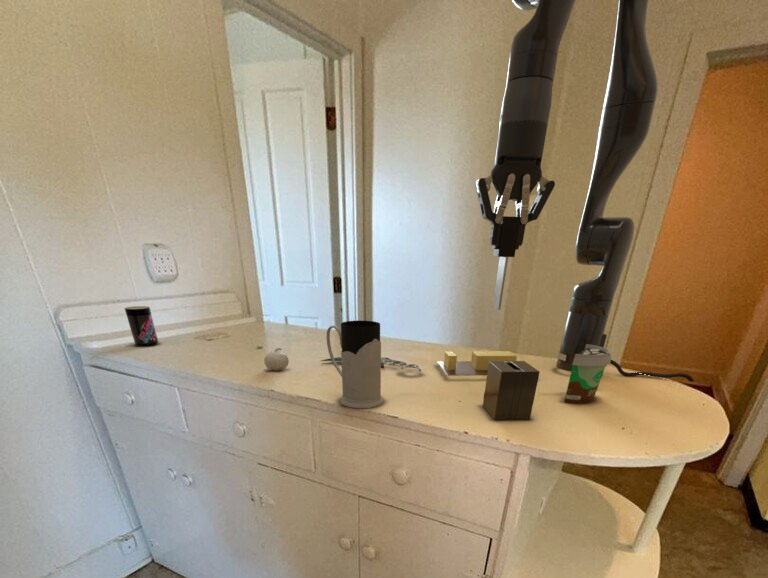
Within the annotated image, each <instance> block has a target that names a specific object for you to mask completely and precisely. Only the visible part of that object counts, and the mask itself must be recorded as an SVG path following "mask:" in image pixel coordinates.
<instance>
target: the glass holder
mask: <svg viewBox="0 0 768 578" xmlns="http://www.w3.org/2000/svg"><path fill="white" fill-rule="evenodd" d="M333 328H334V329H335V330H336V332H337V334H338V337H339V345H340V348H341V351H340V357H341V368H340V367H339V365H338V364H337V361H335V359H334V358H335V357H334V353H333V351H332V350H333V349H332V346H331V330H332V329H333ZM326 346H327V351H328V354H329V357H330V358H331V360H332V361H331V363H332V364H333V366H334V368H335V370H336V371H337V373H338V374H339V375H340V376H341V383H342V397H341V399H340V403H341V404H342V405H343V406H345V407H347V408H353V409H370V408H371V409H372V408H375V407H379V406H381V405H382V404H383V402H384V400H383V398H382V387H381V385H382V367H381V357H382V342H381V323H380V322H377V321H373V320H347V321H343V322H341V323H340V327H339V326H337V325H330V326H329V327H328V328H327V330H326ZM330 358H329V359H330Z"/></svg>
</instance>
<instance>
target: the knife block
mask: <svg viewBox="0 0 768 578" xmlns="http://www.w3.org/2000/svg"><path fill="white" fill-rule="evenodd" d="M540 373H541V372H540V370H538V369H537V368H535V367H533V365H531V364H530V363H528V362H526V361H525V360H516V361H489V366H488V373H487V375H486V381H485V388H484V395H483V401H482V407H483V408H484V410H485V411H486V412H487V414H488V415H489V416H490V417H491V418H492V420H493V421H514V420H515V421H522V420H523V421H524V420H525V421H527V420H528V421H529V420H531V416H532V412H533V406H534V402H535V397H536V391H537V387H538V382H539V378H540Z"/></svg>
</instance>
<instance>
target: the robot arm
mask: <svg viewBox="0 0 768 578" xmlns="http://www.w3.org/2000/svg"><path fill="white" fill-rule="evenodd" d="M511 1H512V3H513V4H514V6H516V8H518V9H520V10H521V11H529V12H530V11H532V10H533V11H534V10H535V12H534V14H533V16H532V17H531V19H530V20H529V21H528V22H527V23H525V24H524V25H523V26H522V27H521V28H520V29H519V30H518V31H517V32H516V33H515V35H514V36H513V38H512V42H511V46H510V53H509V60H508V68H507V76H506V82H505V83H506V85H505V90H504V93H503V94H504V95H503V99H502V103H501V110H500V114H499V126H498V135H497V143H496V144H497V145H496V151H495V158H494V165H493V168H492V170H491V171H490V174H489V175H487V176H485V177H480V178H478V179H476V180H475V182H474V187H475V191H476V192H475V193H476V195H477V199H478V204H479V209H480V213H481V216H482V219H483V220H486V221H488V222H490V225H491V226H490V227H491V228H490V236H489V245H490V246H491V249H492V250H495V249H498V248H499V243H500V236H501V229H502V224H501V221H502V218H503V216H504V215H505V211H506V209H507V207H508V204H509V201H512V202H515V211H516V217H521V218H520V225H519V231H518V237H517V244H516V250H515V251H517V250H519V248H520V247H521V246H522V245H523V244H524V237H525V232H526V231H525V230H526V226H527V224H528V223H530V222H532V221H536V220H538V218H539V217H540V214H541V212H542V211H543V209H544V207H545V205H546V204H547V202H548V200H549V198H550V196H551V194H552V192H553V190H554V188H555V186H556V182H555V180H549V179H548V178H546V177H544V176H543V171H542V160H543V155H544V149H545V144H546V136H547V132H548V126H549V125H548V124H549V119H550V114H551V108H552V102H553V101H552V100H553V86H554V79H555V74H556V68H557V61H558V55H559V50H560V44H561V42H562V38H563V36H564V33H565V30H566V28H567V25H568V23H569V19H570V17H571V14H572V11H573V7H574V5H575V3H576V0H511ZM648 5H649V0H618V6H617V15H616V25H615V31H614V32H615V33H614V41H613V47H612V54H611V60H610V67H609V73H608V78H607V84H606V89H605V94H604V99H603V104H602V110H601V116H600V120H599V125H598V131H597V132H598V133H597V140H596V146H595V152H594V160H593V165H592V170H591V175H590V176H591V177H590V181H589V184H588V185H589V186H588V190H587V194H586V199H585V203H584V207H583V210H582V211H583V212H582V215H581V219H580V224H579V227H578V231H577V237H576V241H575V250H574V253H575V254H574V255H575V261H576V263H577V264H579V265H580V266H581V265H582V266H594V267H595V266H597V267H602V268H601V270H600V272H599V274H598V275H596V276H595V277H593V278H591V279H588V280H586V281H583V282H579V283H577V284H575V285H574V287H573V290H572V293H571V298H570V304H569V308H568V312H567V317H566V320H565V325H564V329H563V334H562V339H561V342H560V346H559V347H560V348H559V352H558V356H557V360H556V367H555V368H558V369H560V370H563V371H568V372H571V371H572V366H573V365H572V364H573V361H574V357H575V354H580V352H581V351H584V350H585V347H586V344H588V345H595V346H600V347H604V348H605V343H606V340H607V338H608V337H607V336H608V335H607V334H606V333H605V331H606V327H607V323H608V319H609V316H610V313H611V309H612V305H613V301H614V298H615V295H616V291H617V289H618V286H619V284H620V281H621V277H622V274H623V270H624V267H625V264H626V261H627V258H628V255H629V252H630V249H631V246H632V243H633V238H634V233H635V223H634V220H633V219H632V218H631V217H628V216H615V217H614V216H613V217H612V216H611V217H610V216H609V217H604V212H605V208H606V206H607V202H608V200H609V197H610V194H611V193H612V190H613V189H614V187H615V185H616V183H617V182H618V180H619V179H620V177H621V176H622V174H623V173H624V172H625V170H626V169H627V168H628V166H629V165H630V164H631V162H632V161H633V160H634V158H635V157H636V155H637V154H638V152H639V151H640V149H641V147H642V146H643V144H644V143H645V141H646V139H647V138H648V134H649V131H650V127H651V123H652V118H653V114H654V110H655V106H656V101H657V95H658V89H659V88H658V87H659V85H658V84H659V83H658V77H657V72H656V67H655V64H654V60H653V58H652V54H651V51H650V47H649V44H648V38H647V29H646V26H647V25H646V24H647V13H648ZM491 184H492V186H493V187H494V190H495V192H496V194H497V196H496V199H495V203H494V209H492V203H491V199H490V195H489V192H490V190H491ZM536 186H537V189H536V192H537V195H536V197H535V199H534V201H533V203H532V205H531V208H530V209H529V207H530V194H531V193H532V192H533V190H534V189H535V188H536ZM610 364H611V366H614V367H615V368H616V370H617V371H618V372H619V374H620V375H622V376H624V377H635V376H636V377H637V376H646V377H652V378H653V377H654V378H662V379H668V378H670V379H671V378H685V379H686V380H688V381H689V382H692V383H695V379H694V378H693V377H692V376H691V375H690V374H687V373H684V372H677V373H658V372H657V373H655V372H649V371H633V372H627V371H624V370H623V368H622V367H621V365H620V364H619V363H618V362H617V361H615V360H613V359H611V362H610ZM610 364H609V365H610ZM605 367H607V365H606V366H605ZM634 372H635V373H634ZM636 372H637V373H636ZM639 373H642V374H639ZM644 374H646V375H644ZM648 375H650V376H648Z"/></svg>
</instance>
